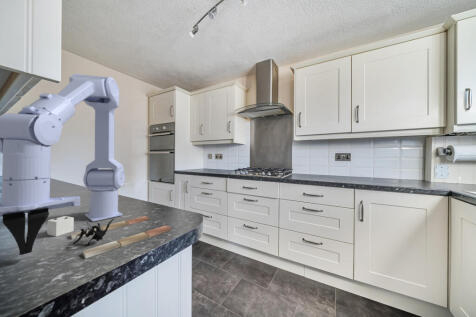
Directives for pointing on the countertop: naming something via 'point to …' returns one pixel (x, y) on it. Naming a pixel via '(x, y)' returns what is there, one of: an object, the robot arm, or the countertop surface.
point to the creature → (97, 235)
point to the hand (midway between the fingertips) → (25, 251)
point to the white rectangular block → (60, 226)
